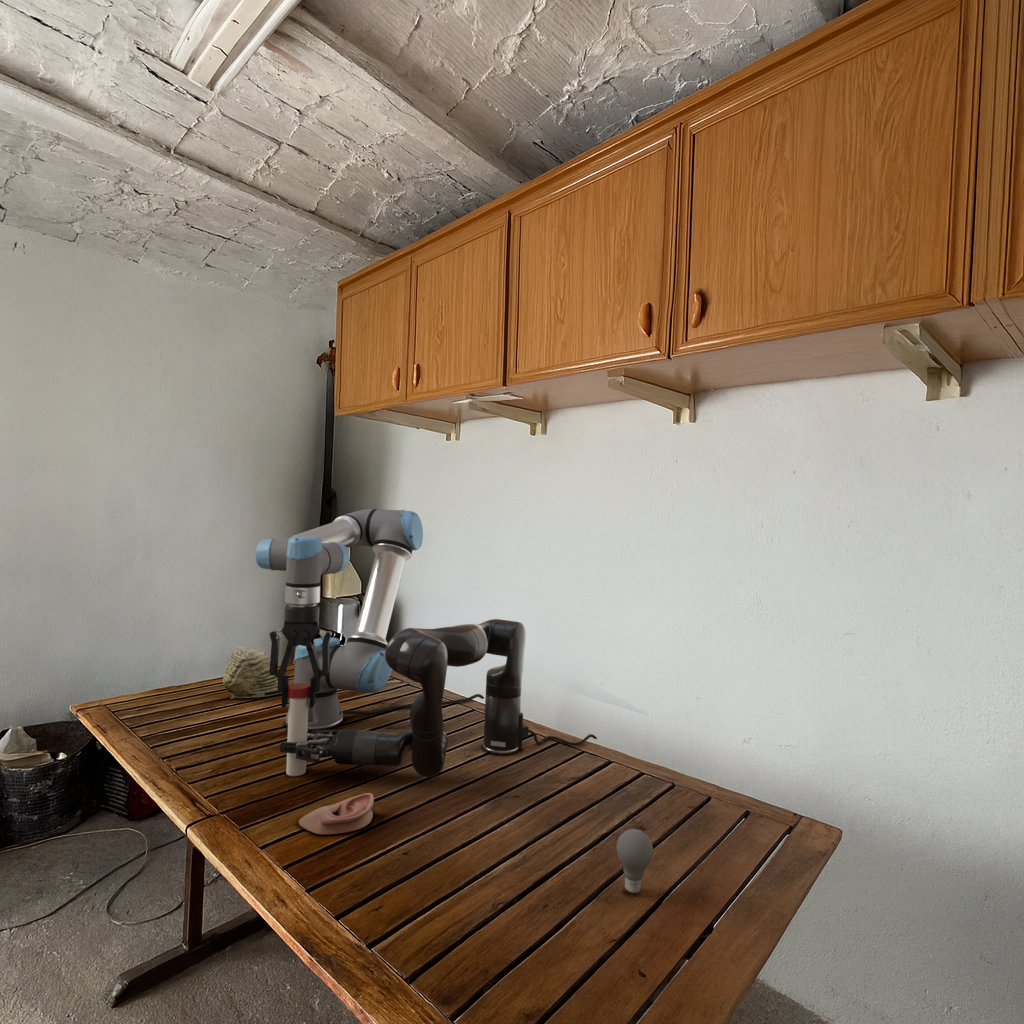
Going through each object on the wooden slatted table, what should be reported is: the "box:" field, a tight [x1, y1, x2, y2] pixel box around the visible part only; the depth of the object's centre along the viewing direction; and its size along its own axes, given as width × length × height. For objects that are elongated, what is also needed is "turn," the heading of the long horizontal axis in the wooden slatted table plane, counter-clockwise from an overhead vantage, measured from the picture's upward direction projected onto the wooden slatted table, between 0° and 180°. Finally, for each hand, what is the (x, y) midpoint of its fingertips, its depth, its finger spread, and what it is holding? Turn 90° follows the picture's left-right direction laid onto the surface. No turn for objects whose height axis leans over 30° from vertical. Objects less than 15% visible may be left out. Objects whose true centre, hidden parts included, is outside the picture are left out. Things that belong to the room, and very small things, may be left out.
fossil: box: [222, 646, 282, 699], centre depth 198 cm, size 9×18×15 cm, turn 132°
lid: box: [288, 682, 310, 698], centre depth 145 cm, size 5×5×2 cm
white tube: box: [285, 696, 309, 777], centre depth 145 cm, size 4×4×19 cm
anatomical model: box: [298, 792, 375, 835], centre depth 124 cm, size 13×4×12 cm
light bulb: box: [615, 828, 654, 894], centre depth 106 cm, size 6×6×10 cm
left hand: (298, 705), depth 145 cm, fingers open, 5 cm apart
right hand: (285, 742), depth 145 cm, fingers closed on white tube, 4 cm apart
